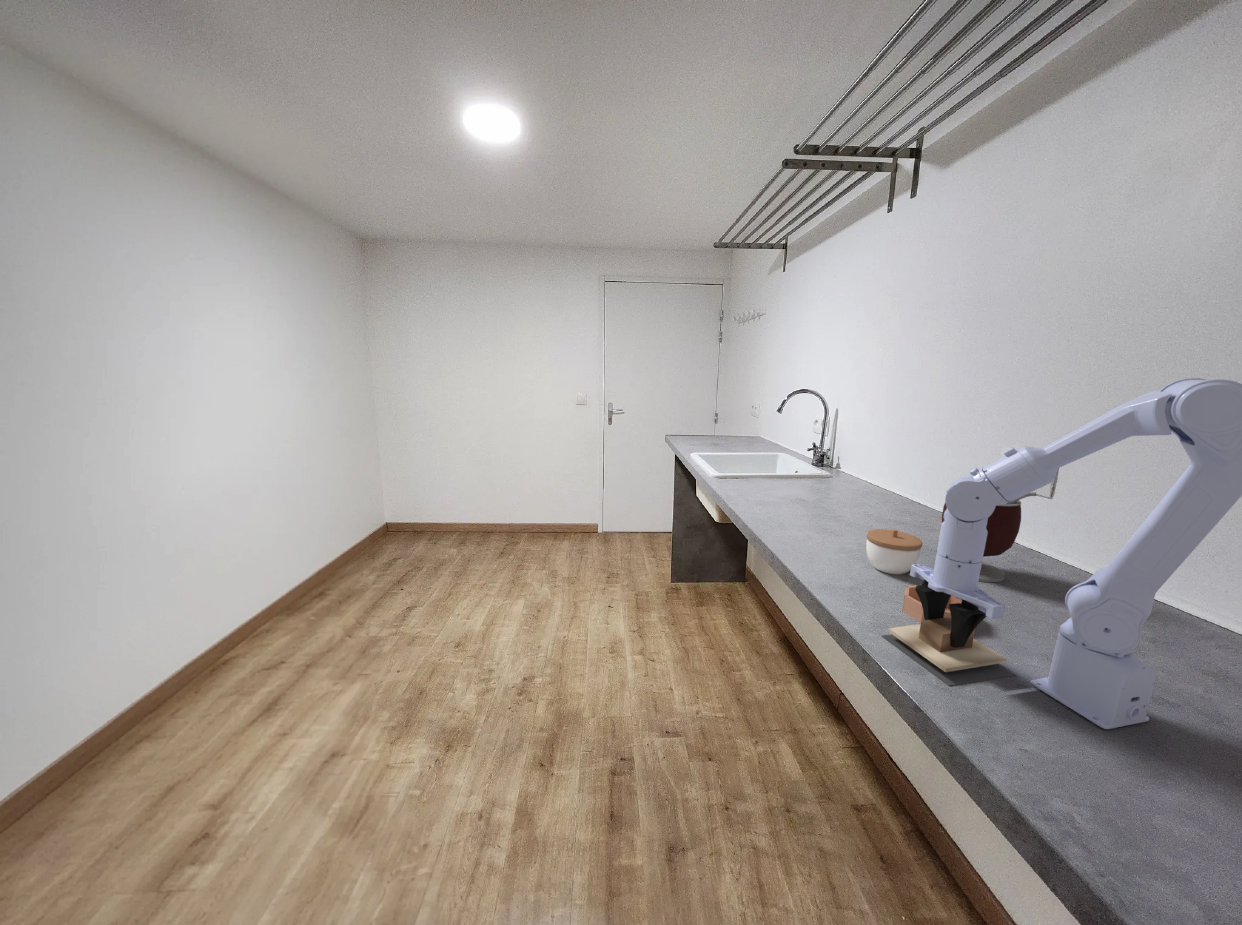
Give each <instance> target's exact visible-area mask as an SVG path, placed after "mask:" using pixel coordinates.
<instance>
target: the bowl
mask: <svg viewBox="0 0 1242 925" xmlns="http://www.w3.org/2000/svg"><path fill="white" fill-rule="evenodd" d="M917 585H918V584H916V585H906V586H904V593H903V598H902V599H903V600H902V609H901V610H902V611H901V612H903V613H905V614H906V615H908V616H909V617H911V618H913V619H914V620H916V622H917V621H918V622H919V624H921V621H924V620H925V618H924V612H923V608H922V604H921V601H920V599H919V596H918V594H917V592H916V590H915V589H916V586H917ZM961 602H962V601H961V600H959V599H958V598H956V597H954V596H952V595H951V597H950V599H949V601H948V604H947V606H946V610H945V612H944V617H943V618H946V617H951V613H950V609H949V604H955V603H961Z"/></svg>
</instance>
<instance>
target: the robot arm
mask: <svg viewBox="0 0 1242 925" xmlns="http://www.w3.org/2000/svg"><path fill="white" fill-rule="evenodd" d="M1172 434H1174V435H1175V436H1176V437H1177V438H1178V439H1179V442H1180V444H1181V445H1182V447H1183V449H1184V452H1185V453H1186V455H1187V456H1188V459H1189V460H1190V464H1189V466H1188V467H1187V468H1186V469H1185V470H1184V472H1182V474H1181V475H1180V477H1178V479H1177V480H1176V481H1175V483H1174V484H1173V485H1172V487H1171V488H1170V489H1169V490H1168V491H1167V493H1166V494H1165V495H1164V496H1163V498H1162V499H1161V500H1160V501H1159V503H1158V504H1157V505H1156V506H1155V507H1154V508H1153V509H1152V511H1151V512H1150V513H1149V515H1148V516H1147V517H1146V519H1145V520H1144V521H1143V522H1142V523H1141V524H1140V526H1139V527H1138V528H1137V529H1136V530H1135V532H1134V533H1133V534H1132V536H1131V537H1129V539H1128V541H1126V543H1125V544H1123V546H1122V548H1121V549H1120V550H1119V551H1118V552H1117V554H1116V555H1115V556H1114V558H1113V559H1112V560H1111V561H1110V562H1109V564H1108V565H1106V566H1105V567H1101V568H1100V569H1098V570H1095V572H1094V573H1093V574H1092V575H1091V576H1090V577H1089V578H1088V579H1087V580H1086V581H1083V582H1081V583H1078V584H1076V585H1074V586H1072V587H1071V588H1070V589H1069V590H1068V591H1067V593H1066V595H1065V597H1064V601H1065V602H1064V604H1065V607H1066V609H1067V611H1068V613H1069V615H1070V617H1069V618H1068V619H1067V620H1065V622H1063V623H1062V624H1060V626H1059V630H1058V635H1057V638H1056V643H1055V647H1054V651H1053V656H1052V660H1051V665H1050V669H1049V674H1048V677H1042V678H1035V679H1031V680H1030V684H1031V685H1034V686H1035V688H1036V689H1038V690H1040V691H1042V692H1043V693H1045V694H1046V695H1048V696H1050V697H1051V698H1053V699H1055V700H1056V701H1058V702H1059V703H1061V704H1063V705H1064V706H1065V707H1067V708H1070V709H1071V710H1072V711H1074V712H1076V713H1077V714H1078V715H1081V716H1082V717H1084V718H1085V719H1087V720H1089V721H1090V722H1092V723H1093V724H1094V725H1096V726H1098V727H1100V728H1102V729H1104V730H1110V729H1111V730H1112V729H1116V728H1119V727H1125V726H1130V725H1136V724H1141V723H1146V722H1149V720H1150V717H1149V716H1148V711H1149V708H1150V703H1151V701H1152V697H1153V694H1154V689H1155V688H1156V687H1155V686H1156V682H1157V673H1156V669H1155V668H1154V667H1153V666H1151V665H1150V664H1148V663H1146V662H1145V661H1143V660H1142V659H1140V658H1139V657H1138V656H1137V655H1136V654H1135V653H1134V652H1133V651H1134V648H1136V647H1137V646H1138V645H1139V644H1140V642H1141V640H1142V637H1143V626H1144V624H1145V622H1146V620H1147V619H1148V618H1149V617H1150V616H1151V614H1152V610H1153V606H1154V602H1155V596H1156V594H1157V592H1159V590H1160V589H1161V588H1162V587H1163V585H1164V584H1165V583H1166V582H1167V581H1168V580H1169V579H1170V578H1171V576H1172V575H1173V574H1174V573H1175V572H1176V571H1177V569H1178V568H1179V567H1180V566H1181V565H1182V564H1183V563H1184V562H1185V561H1186V559H1188V557H1189V556H1190V555H1191V554H1192V553H1193V552H1194V550H1196V548H1197V547H1198V546H1199V545H1200V544H1201V543H1202V542H1203V540H1204V539H1205V538H1206V537H1207V536H1208V534H1209V533H1210V532H1211V531H1212V530H1213V529H1214V528H1215V527H1216V526H1217V524H1218V523H1219V522H1220V521H1221V520H1222V519H1223V518H1224V516H1226V514H1227V513H1228V512H1229V511H1230V509H1232V508H1233V507H1234V505H1235V504H1236V503H1237V502H1238V501H1239V500H1240V499H1241V497H1242V383H1241V382H1238V381H1235V380H1230V379H1221V378H1220V379H1218V378H1217V379H1216V378H1215V379H1204V378H1201V377H1200V378H1199V377H1194V378H1193V377H1190V378H1189V377H1188V378H1183V379H1182V378H1181V379H1178V380H1175V381H1172V382H1170V383H1168V384H1166V385H1165V386H1163V387H1162V388H1161V389H1160V390H1152V391H1150V392H1149V391H1148V392H1147V393H1144V394H1142V395H1140V396H1137V397H1136V398H1133V399H1131V400H1129V401H1127V402H1125V403H1122V404H1121V405H1118V406H1117V407H1115V408H1113V409H1111V410H1109V411H1108V412H1105V413H1104V414H1103V415H1102V414H1101V415H1099V417H1097V418H1095V419H1093V420H1091V421H1089V422H1088V423H1085V424H1084V425H1082V426H1080V427H1078V428H1077V429H1074V430H1072V431H1071V432H1068V434H1067V433H1066V434H1065V435H1063V436H1062V437H1060V438H1058V439H1056V440H1055V441H1053V442H1050V443H1049V444H1048V445H1045V446H1043V447H1034V446H1033V447H1032V446H1021V447H1020V448H1018V449H1016V448H1014V447H1010V448H1008V449H1006V450H1005V451H1003V455H1004V456H1003V457H1000V458H999V459H996V460H995V461H993V462H992V463H989V464H987V465H986V466H983V467H982V468H980V469H978V467H974V468H972V469H971V470H969V474H970V475H969V476H967V475H964V476H961V477H958V478H957V479H955V480H953V481H952V482H951V483H950V485H949V487H948V488H947V490H946V494H945V500H944V503H945V502H946V506H947V509H946V511H945V512H944V522H943V523H942V522H941V525H940V529H939V530H940V531H939V537H938V544H937V549H936V556H935V559H934V560H935V561H934V567H933V568H932V567H929V566H927V565H924V564H922V563H916V564H913V565H911V570H910V571H909V572H910V573H909V576H910V577H912V578H916V579H917V578H919V579H921V580H922V581H923V582H922V583H921V584H916V585H917V586H916V589H915V590H916V592H917V594H918V596H919V599H920V601H921V604H922V608H923V612H924V618H925V620H932V619H939V618H943V617H944V612H945V609H946V606H947V604H948V601H949V599H950V597H951V595H952V596H954V597H956V598H958V599H959V600H961V601H962V602H961V603H955V604H949V609H950V613H951V624H952V626H951V634H950V646H952V647H953V648H958V647H964V646H965V644H966V642H967V640H968V639H969V637H970V635H971V634H972V632H973V631H974V630H976V629H977V627H978V626H979V624H981V622H983V620H985V619H986V618H989V619H991V620H995V619H997V620H998V619H1003V618H1004V614H1005V609H1006V605H1005V604H1003V603H1002V602H999V601H998V600H996V598H994V597H992V596H991V595H990V594H989V593H987V592H986V591H985V590H983V589H981V588H980V587H979V586H978V585H979V582H980V581H979V576H980V570H981V565H982V562H983V560H984V557H983V554H984V549H985V544H986V538H987V534H988V532H987V529H986V526H987V521H988V517H989V516H990V515H991V514H992V513H993V511H994V509H995V506H996V505H999V504H1007V503H1009V502H1011V501H1013V500H1015V499H1018V498H1020V497H1022V496H1024V495H1026V494H1028V493H1032V492H1035V491H1037V490H1038V489H1041V488H1043V487H1045V486H1047V485H1049V484H1051V483H1053V482H1055V480H1056V476H1057V473H1058V471H1059V469H1060V468H1062V467H1064V466H1067V465H1069V464H1071V463H1073V462H1075V461H1077V460H1081V459H1082V458H1084V457H1087V456H1089V455H1091V454H1094V453H1096V452H1099V451H1100V450H1103V449H1106V448H1108V447H1109V446H1112V445H1114V444H1116V443H1119V442H1121V441H1124V440H1126V439H1129V438H1131V437H1137V436H1138V437H1139V436H1140V437H1141V436H1170V435H1172Z"/></svg>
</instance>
